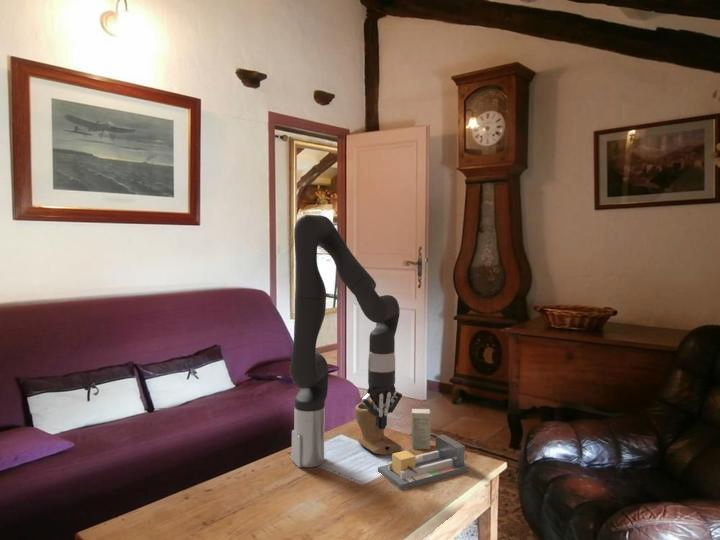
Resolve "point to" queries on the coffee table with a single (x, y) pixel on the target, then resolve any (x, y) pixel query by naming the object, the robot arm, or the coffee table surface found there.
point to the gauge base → (422, 471)
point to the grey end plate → (450, 450)
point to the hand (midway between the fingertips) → (381, 428)
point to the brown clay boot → (373, 433)
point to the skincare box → (420, 428)
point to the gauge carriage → (404, 461)
